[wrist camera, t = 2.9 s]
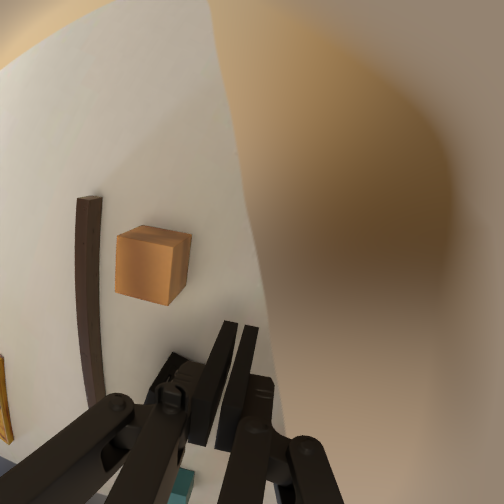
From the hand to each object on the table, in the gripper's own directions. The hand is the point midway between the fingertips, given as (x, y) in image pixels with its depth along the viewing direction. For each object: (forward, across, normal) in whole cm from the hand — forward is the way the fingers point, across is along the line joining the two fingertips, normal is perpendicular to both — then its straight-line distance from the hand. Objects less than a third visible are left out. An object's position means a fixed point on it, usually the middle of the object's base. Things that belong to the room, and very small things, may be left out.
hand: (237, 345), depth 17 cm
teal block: (+12, -6, -34) cm, 37 cm away
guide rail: (+12, -17, -16) cm, 27 cm away
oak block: (+12, -9, 0) cm, 15 cm away
